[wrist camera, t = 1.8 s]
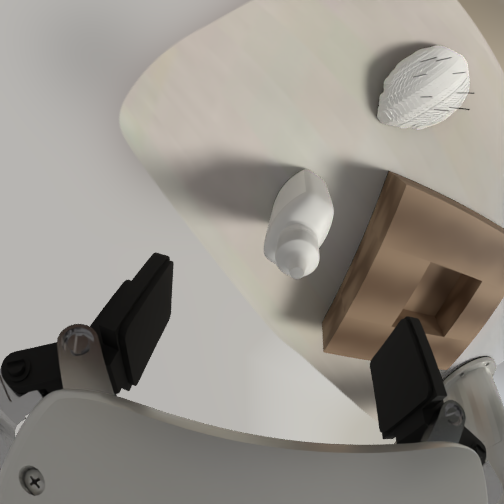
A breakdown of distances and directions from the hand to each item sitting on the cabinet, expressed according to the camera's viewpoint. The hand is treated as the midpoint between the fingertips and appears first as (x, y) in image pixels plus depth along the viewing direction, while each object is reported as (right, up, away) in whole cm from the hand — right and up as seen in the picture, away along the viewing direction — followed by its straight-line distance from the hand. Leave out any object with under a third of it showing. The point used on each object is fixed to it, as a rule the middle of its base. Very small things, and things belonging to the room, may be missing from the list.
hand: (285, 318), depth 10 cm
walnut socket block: (+17, 0, +15) cm, 23 cm away
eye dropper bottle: (+3, +7, +14) cm, 16 cm away
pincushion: (+14, +17, +7) cm, 23 cm away
